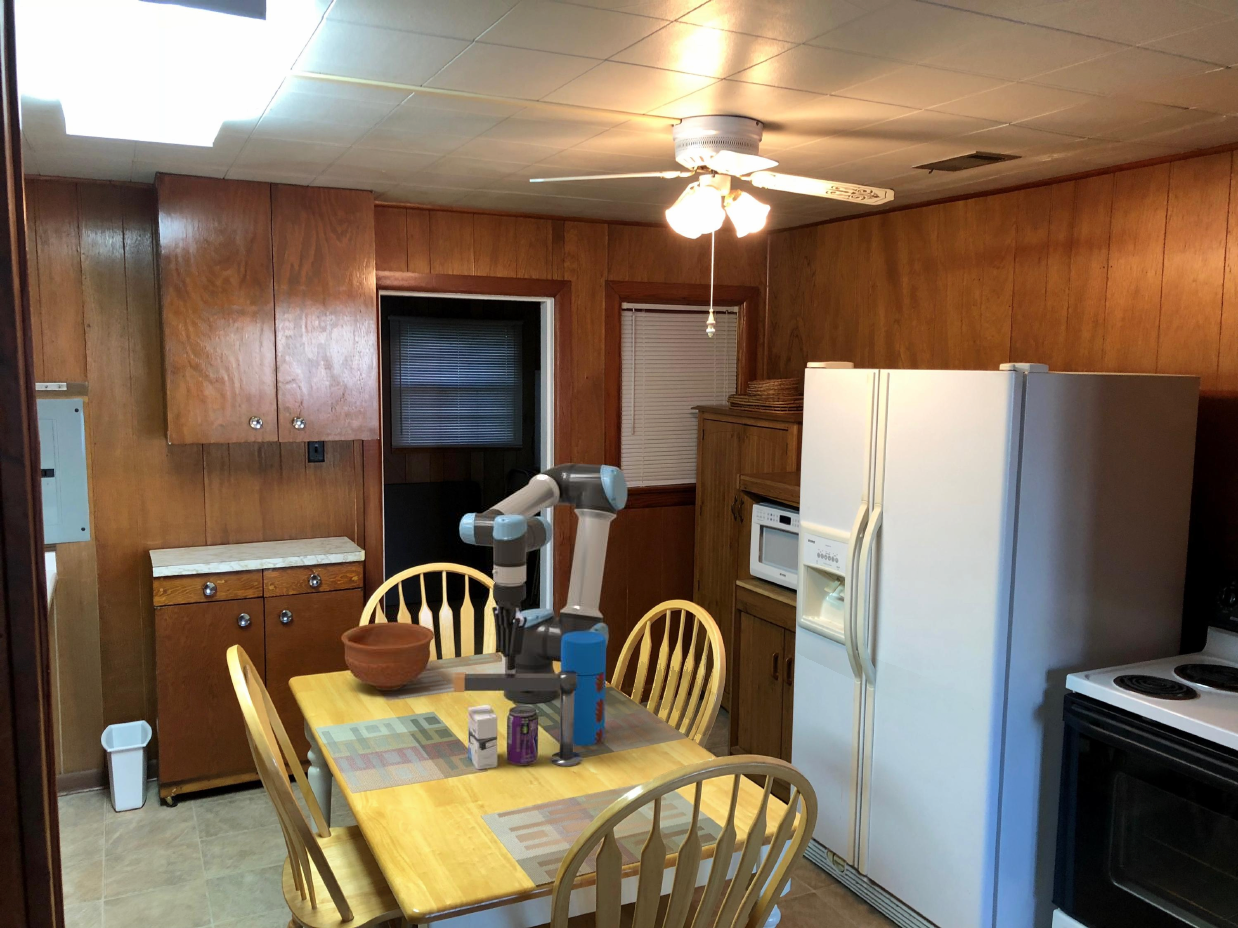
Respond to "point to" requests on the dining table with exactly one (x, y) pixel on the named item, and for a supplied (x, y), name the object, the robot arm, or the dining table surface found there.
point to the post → (566, 733)
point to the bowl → (387, 653)
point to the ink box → (482, 736)
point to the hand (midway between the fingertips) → (508, 681)
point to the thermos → (586, 683)
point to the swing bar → (516, 682)
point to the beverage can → (522, 735)
